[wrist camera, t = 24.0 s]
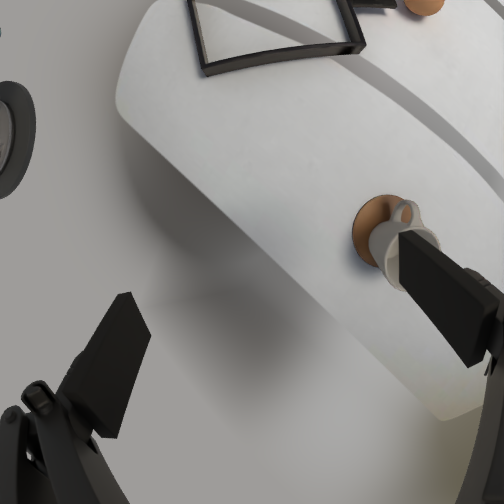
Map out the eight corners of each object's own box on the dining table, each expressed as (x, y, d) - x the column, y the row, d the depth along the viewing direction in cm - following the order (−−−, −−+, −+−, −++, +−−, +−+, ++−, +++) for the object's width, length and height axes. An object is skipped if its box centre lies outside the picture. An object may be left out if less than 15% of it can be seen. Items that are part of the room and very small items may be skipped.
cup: (357, 267, 39) (379, 292, 31) (365, 192, 37) (391, 200, 28) (406, 269, 39) (434, 292, 31) (416, 198, 36) (449, 207, 28)
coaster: (356, 273, 40) (357, 274, 40) (347, 201, 37) (348, 201, 37) (419, 259, 39) (420, 260, 39) (414, 189, 36) (415, 190, 36)
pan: (206, 77, 34) (201, 69, 30) (188, -9, 30) (182, -20, 26) (403, 53, 31) (414, 46, 28) (370, -27, 27) (377, -38, 24)
